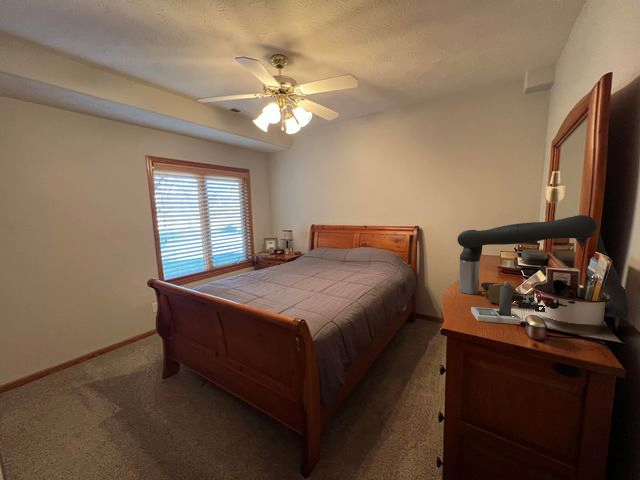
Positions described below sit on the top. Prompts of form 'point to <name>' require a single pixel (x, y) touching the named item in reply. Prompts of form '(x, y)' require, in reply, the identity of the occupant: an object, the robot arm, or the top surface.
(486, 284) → the carrying case or bag
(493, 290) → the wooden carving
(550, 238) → the robot arm
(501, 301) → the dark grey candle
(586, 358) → the top surface
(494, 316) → the duct plate
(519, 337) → the top surface
